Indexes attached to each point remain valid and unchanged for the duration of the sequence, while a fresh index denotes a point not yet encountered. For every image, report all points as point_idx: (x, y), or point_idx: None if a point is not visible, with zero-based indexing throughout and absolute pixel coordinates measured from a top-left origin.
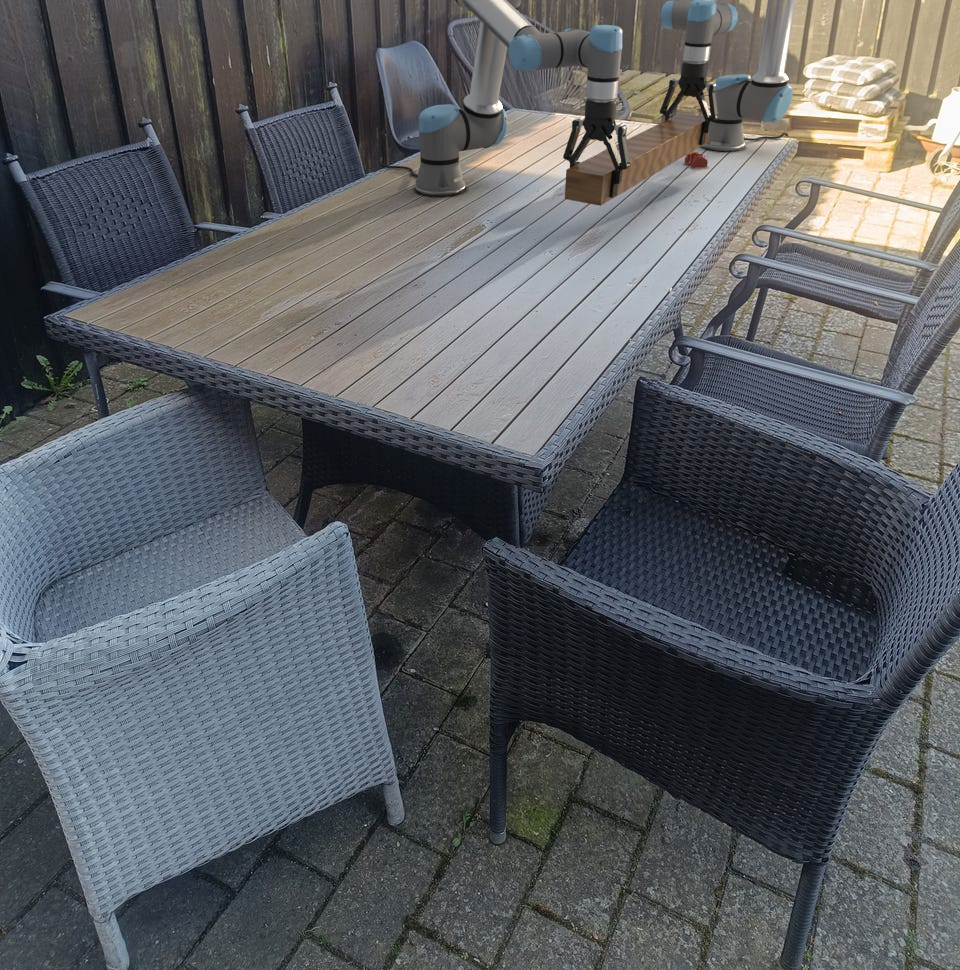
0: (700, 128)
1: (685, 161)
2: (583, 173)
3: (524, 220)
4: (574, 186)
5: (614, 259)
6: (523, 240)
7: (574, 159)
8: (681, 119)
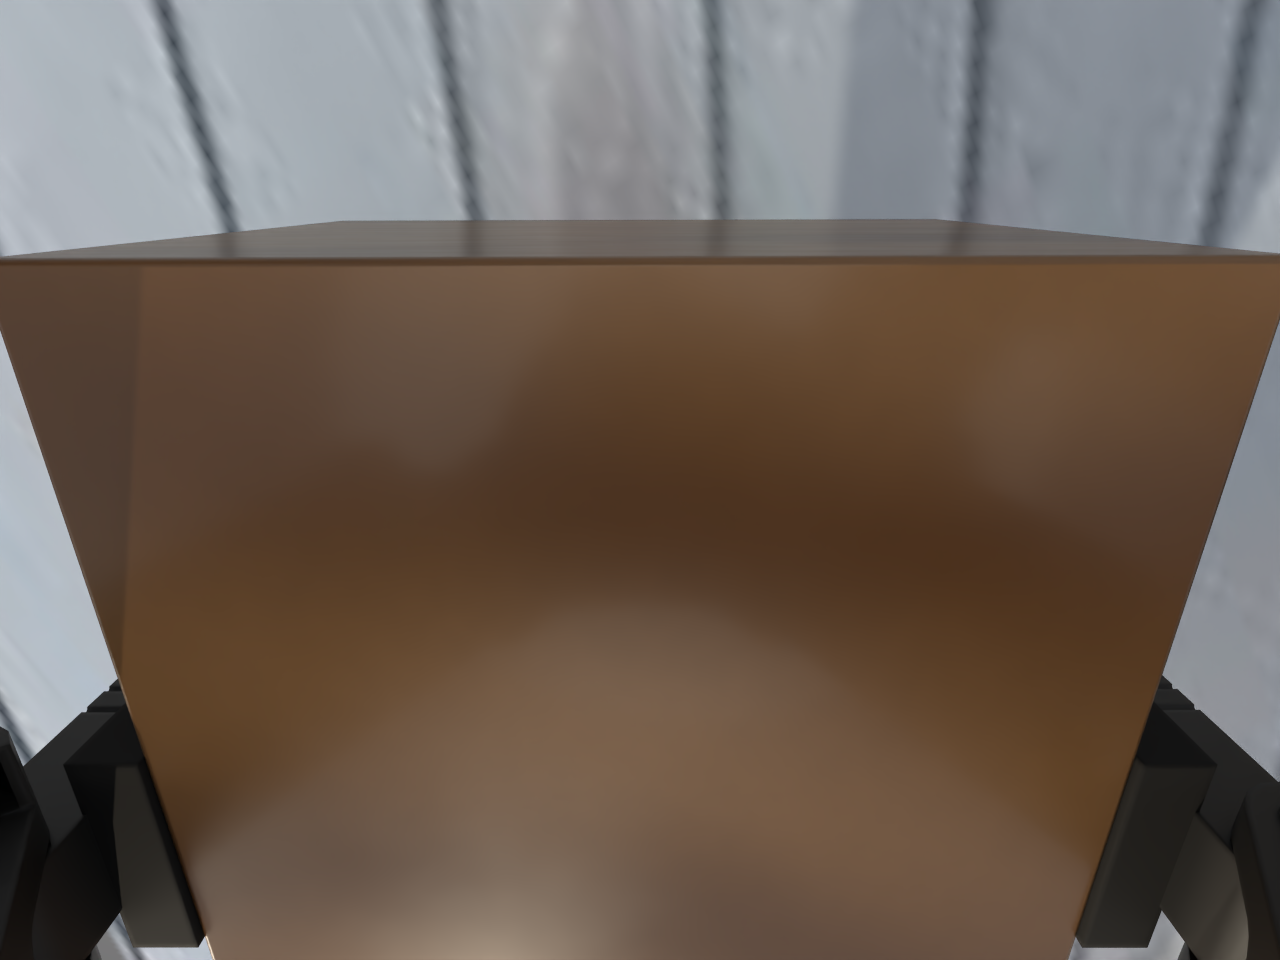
0: None
1: None
2: (675, 256)
3: (1239, 512)
4: (839, 231)
5: (268, 112)
6: (1124, 93)
7: (1274, 875)
8: None
